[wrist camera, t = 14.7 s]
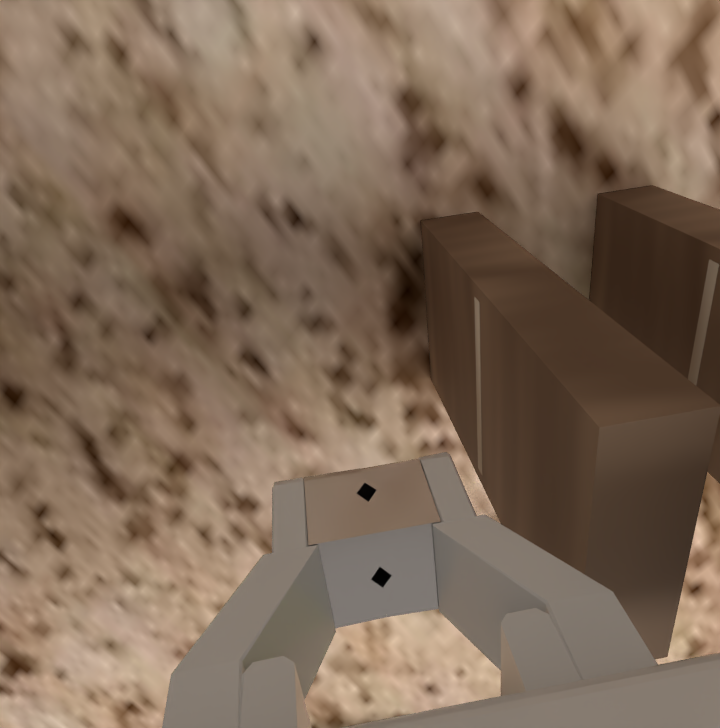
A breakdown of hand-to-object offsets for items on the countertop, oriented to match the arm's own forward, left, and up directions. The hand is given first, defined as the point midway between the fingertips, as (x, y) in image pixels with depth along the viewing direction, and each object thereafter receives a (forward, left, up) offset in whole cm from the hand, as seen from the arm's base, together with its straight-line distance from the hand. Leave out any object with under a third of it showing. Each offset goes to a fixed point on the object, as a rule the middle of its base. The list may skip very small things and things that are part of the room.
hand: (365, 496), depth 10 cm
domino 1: (+4, 0, -8) cm, 9 cm away
